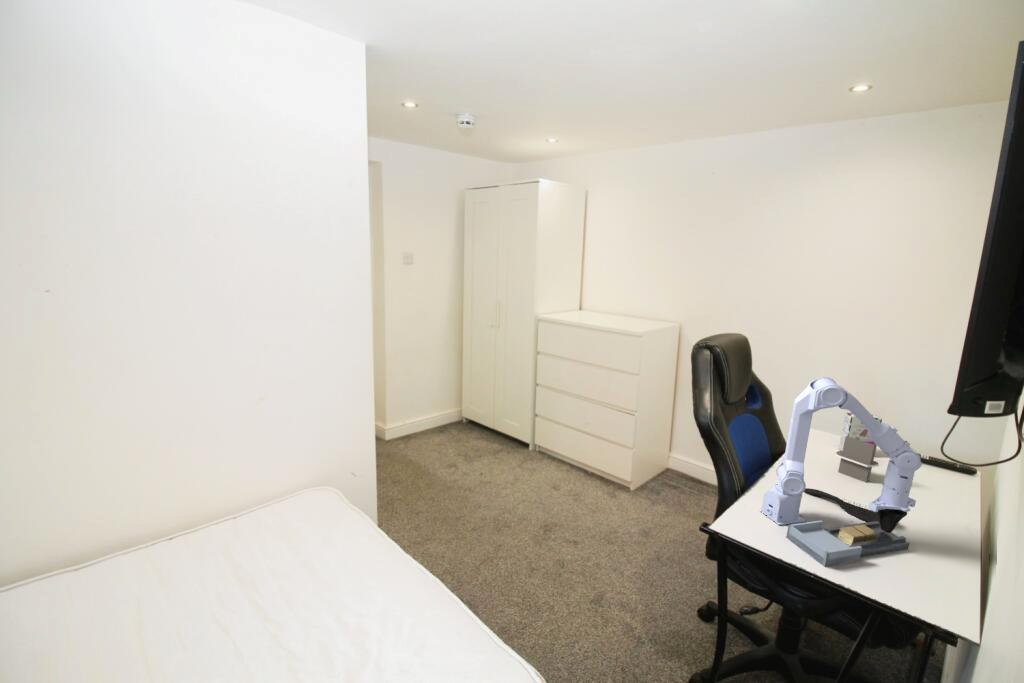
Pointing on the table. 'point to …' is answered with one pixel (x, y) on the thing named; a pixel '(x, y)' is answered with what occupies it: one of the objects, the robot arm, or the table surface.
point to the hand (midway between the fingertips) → (885, 530)
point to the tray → (822, 544)
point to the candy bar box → (855, 429)
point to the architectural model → (857, 459)
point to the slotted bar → (874, 547)
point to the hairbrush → (848, 506)
